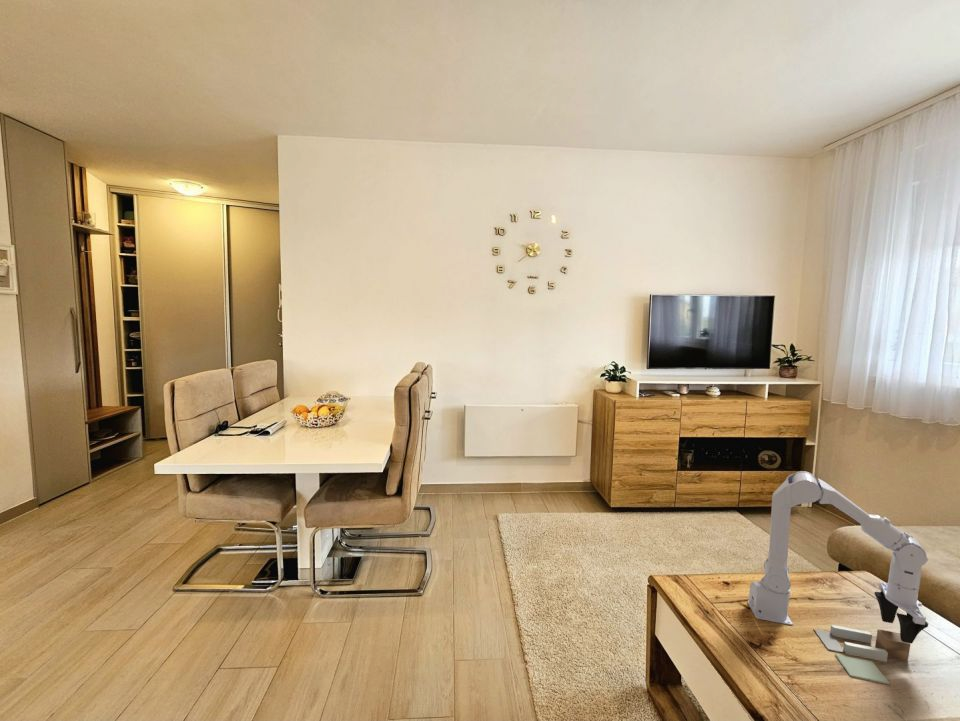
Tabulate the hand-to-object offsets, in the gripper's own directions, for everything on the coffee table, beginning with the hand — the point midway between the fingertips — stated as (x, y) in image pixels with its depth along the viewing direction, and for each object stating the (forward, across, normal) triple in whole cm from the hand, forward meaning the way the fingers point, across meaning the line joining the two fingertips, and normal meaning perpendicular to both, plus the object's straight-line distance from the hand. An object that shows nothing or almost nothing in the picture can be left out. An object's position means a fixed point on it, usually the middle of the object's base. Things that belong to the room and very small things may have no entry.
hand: (896, 631), depth 114 cm
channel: (+6, 0, +10) cm, 12 cm away
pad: (+6, -9, +12) cm, 16 cm away
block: (+6, 0, 0) cm, 7 cm away
